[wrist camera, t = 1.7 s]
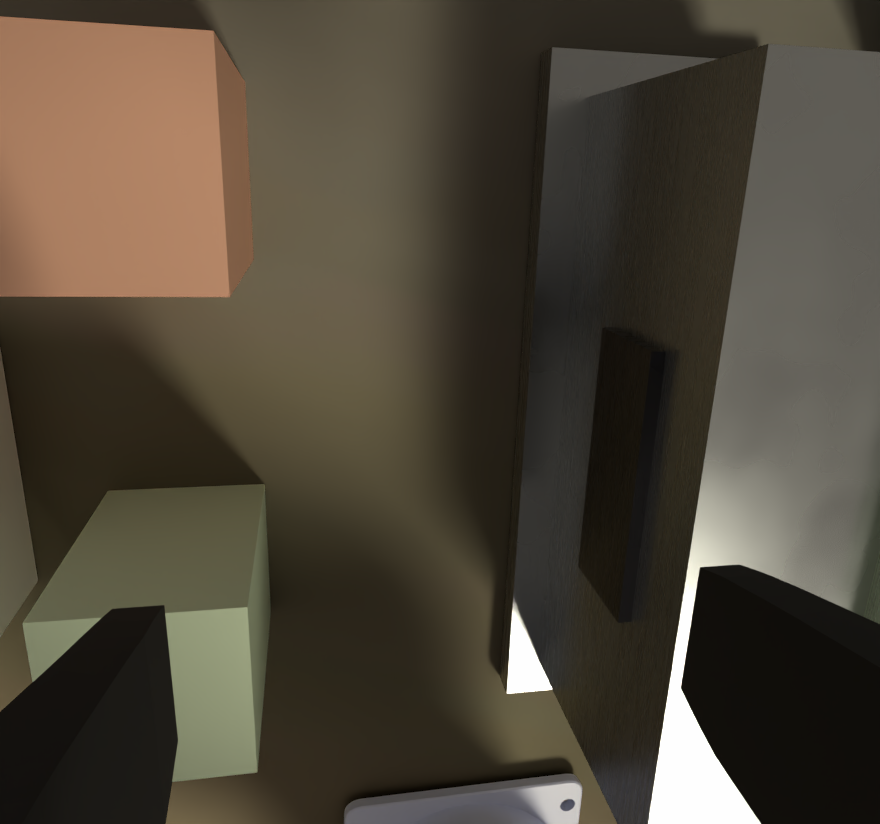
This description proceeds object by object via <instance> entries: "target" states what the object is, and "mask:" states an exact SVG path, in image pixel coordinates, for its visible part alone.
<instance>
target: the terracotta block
mask: <svg viewBox="0 0 880 824" xmlns="http://www.w3.org/2000/svg"><path fill="white" fill-rule="evenodd" d="M253 260H254V256H253V236H252V216H251V196H250V175H249V155H248V135H247V114H246V94H245V81H244V80H243V78H242V77H241V75H240V73H239V72H238V70H237V68H236V67H235V65H234V63H233V62H232V60H231V59H230V57H229V55H228V54H227V52H226V50H225V49H224V47H223V45H222V44H221V42H220V40H219V39H218V37H217V36H216V34H215V32H214V31H210V30H195V29H180V28H165V27H150V26H135V25H120V24H105V23H90V22H75V21H61V20H46V19H31V18H16V17H1V16H0V297H230V296H231V294H232V293H233V291H234V290H235V288H236V286H237V285H238V283H239V282H240V280H241V279H242V277H243V276H244V274H245V272H246V271H247V269H248V268H249V266H250V265H251V263H252V261H253Z"/></svg>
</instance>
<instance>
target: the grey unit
mask: <svg viewBox="0 0 880 824" xmlns="http://www.w3.org/2000/svg"><path fill="white" fill-rule="evenodd" d="M738 564H739V565H743V566H746V567H749V568H752V569H755V570H757V571H760V572H763V573H765V574H768V575H770V576H773V577H775V578H778V579H780V580H782V581H785V582H787V583H789V584H792V585H794V586H796V587H799V588H801V589H803V590H805V591H808V592H810V593H812V594H814V595H817V596H819V597H821V598H823V599H825V600H828V601H830V602H832V603H834V604H836V605H839V606H841V607H843V608H845V609H847V610H850V611H852V612H854V613H856V614H858V615H861V616H863V617H865V618H867V619H869V620H872V621H874V622H876V623H878V624H880V52H872V51H858V50H845V49H831V48H818V47H804V46H790V45H777V44H767V45H763V46H760V47H756V48H753V49H750V50H746V51H743V52H739V53H736V54H733V55H729V56H726V57H722V58H719V59H717V58H702V57H688V56H673V55H659V54H644V53H629V52H615V51H600V50H586V49H571V48H556V47H552V48H550V49H548V50H546V51H544V52H543V53H542V54H541V69H540V84H539V99H538V114H537V129H536V144H535V159H534V174H533V189H532V204H531V219H530V234H529V249H528V264H527V279H526V294H525V309H524V324H523V339H522V354H521V369H520V383H519V398H518V413H517V428H516V443H515V458H514V473H513V488H512V503H511V518H510V533H509V548H508V563H507V578H506V593H505V608H504V623H503V638H502V653H501V668H500V678H501V681H502V683H503V686H504V689H505V691H506V694H510V693H520V692H530V691H540V690H550V689H553V691H554V694H555V696H556V698H557V700H558V702H559V704H560V706H561V708H562V710H563V712H564V714H565V716H566V718H567V720H568V722H569V724H570V727H571V729H572V731H573V733H574V735H575V737H576V739H577V741H578V743H579V745H580V747H581V749H582V751H583V753H584V755H585V758H586V760H587V762H588V764H589V766H590V768H591V770H592V772H593V774H594V776H595V778H596V780H597V782H598V784H599V786H600V788H601V791H602V793H603V795H604V797H605V799H606V801H607V803H608V805H609V807H610V809H611V811H612V813H613V815H614V817H615V819H616V821H617V824H761V823H760V821H759V820H758V819H757V817H756V816H755V814H754V813H753V811H752V810H751V808H750V807H749V805H748V804H747V803H746V801H745V800H744V798H743V797H742V795H741V794H740V792H739V791H738V789H737V788H736V786H735V785H734V783H733V782H732V780H731V779H730V777H729V776H728V775H727V773H726V772H725V770H724V769H723V767H722V765H721V764H720V762H719V761H718V759H717V758H716V756H715V755H714V753H713V751H712V749H711V747H710V745H709V744H708V742H707V740H706V738H705V736H704V734H703V732H702V731H701V729H700V727H699V725H698V723H697V721H696V719H695V717H694V715H693V713H692V711H691V709H690V707H689V705H688V703H687V701H686V698H685V696H684V694H683V692H682V690H681V682H682V676H683V670H684V663H685V657H686V651H687V645H688V638H689V632H690V626H691V620H692V613H693V607H694V601H695V595H696V588H697V582H698V576H699V570H700V567H710V566H724V565H738Z"/></svg>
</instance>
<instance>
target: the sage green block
mask: <svg viewBox="0 0 880 824" xmlns="http://www.w3.org/2000/svg"><path fill="white" fill-rule="evenodd" d="M158 605H164V607H165V617H166V626H167V636H168V646H169V656H170V666H171V675H172V685H173V695H174V705H175V715H176V724H177V734H178V744H177V751H176V758H175V765H174V772H173V779H172V782H176V781H185V780H194V779H203V778H212V777H221V776H230V775H239V774H248V773H257V771H258V759H259V748H260V736H261V724H262V712H263V700H264V688H265V676H266V664H267V652H268V641H269V629H270V617H271V602H270V581H269V561H268V541H267V520H266V500H265V484H251V485H228V486H205V487H181V488H158V489H135V490H111V491H107V493H106V494H105V496H104V497H103V499H102V501H101V502H100V504H99V505H98V507H97V508H96V510H95V511H94V513H93V515H92V516H91V518H90V519H89V521H88V522H87V524H86V525H85V527H84V528H83V530H82V532H81V533H80V535H79V536H78V538H77V539H76V541H75V542H74V544H73V546H72V547H71V549H70V550H69V552H68V553H67V555H66V556H65V558H64V559H63V561H62V563H61V564H60V566H59V567H58V569H57V570H56V572H55V573H54V575H53V577H52V578H51V580H50V581H49V583H48V584H47V586H46V587H45V589H44V590H43V592H42V594H41V595H40V597H39V598H38V600H37V601H36V603H35V604H34V606H33V608H32V609H31V611H30V612H29V614H28V615H27V617H26V618H25V620H24V622H23V623H22V624H23V630H24V636H25V642H26V647H27V653H28V659H29V665H30V671H31V676H32V682H34V681H35V680H36V679H37V678H38V677H39V676H40V675H41V674H42V673H43V672H45V671H46V670H47V669H48V668H49V667H50V666H51V665H52V664H53V663H54V662H55V661H56V660H57V659H58V658H60V657H61V656H62V655H63V654H64V653H65V652H66V651H67V650H68V649H69V648H70V647H71V646H72V645H73V644H74V643H75V642H77V641H78V640H79V639H80V638H81V637H82V636H83V635H84V634H85V633H86V632H87V631H88V630H89V629H90V628H91V627H92V626H93V625H95V624H96V623H97V622H98V621H99V620H100V619H101V618H102V617H103V616H104V615H106V614H107V613H108V612H109V611H110V610H111V609H116V608H130V607H144V606H158Z"/></svg>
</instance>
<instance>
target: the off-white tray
mask: <svg viewBox="0 0 880 824" xmlns="http://www.w3.org/2000/svg"><path fill="white" fill-rule="evenodd" d="M37 582H38V577H37V571H36V564H35V558H34V552H33V546H32V540H31V534H30V527H29V521H28V515H27V509H26V503H25V497H24V491H23V484H22V478H21V472H20V466H19V460H18V454H17V448H16V441H15V435H14V429H13V423H12V417H11V411H10V404H9V398H8V392H7V386H6V380H5V374H4V368H3V361H2V355H1V349H0V637H1V636H2V634H3V633H4V631H5V630H6V628H7V627H8V625H9V624H10V622H11V621H12V619H13V618H14V616H15V615H16V613H17V612H18V610H19V609H20V607H21V606H22V604H23V603H24V601H25V600H26V598H27V597H28V595H29V594H30V592H31V591H32V589H33V588H34V586H35V585H36V583H37Z"/></svg>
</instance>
